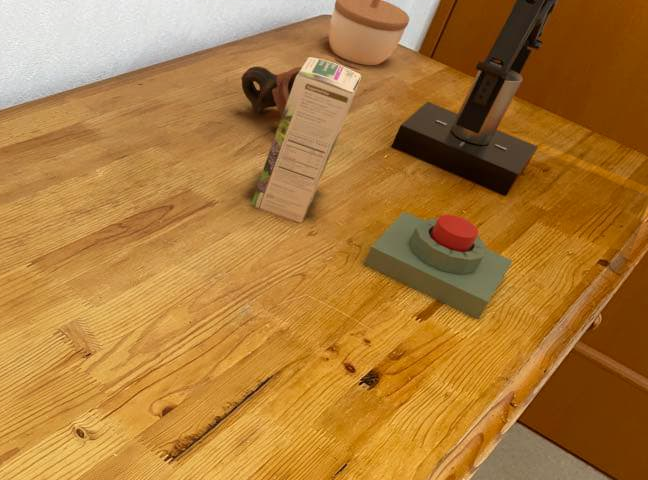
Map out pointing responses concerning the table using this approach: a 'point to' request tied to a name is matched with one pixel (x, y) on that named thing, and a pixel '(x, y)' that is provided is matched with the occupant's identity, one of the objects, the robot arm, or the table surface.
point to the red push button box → (438, 265)
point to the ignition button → (454, 233)
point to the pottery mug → (268, 88)
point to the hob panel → (463, 149)
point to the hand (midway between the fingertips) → (481, 112)
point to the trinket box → (366, 30)
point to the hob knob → (494, 114)
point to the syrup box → (305, 138)
